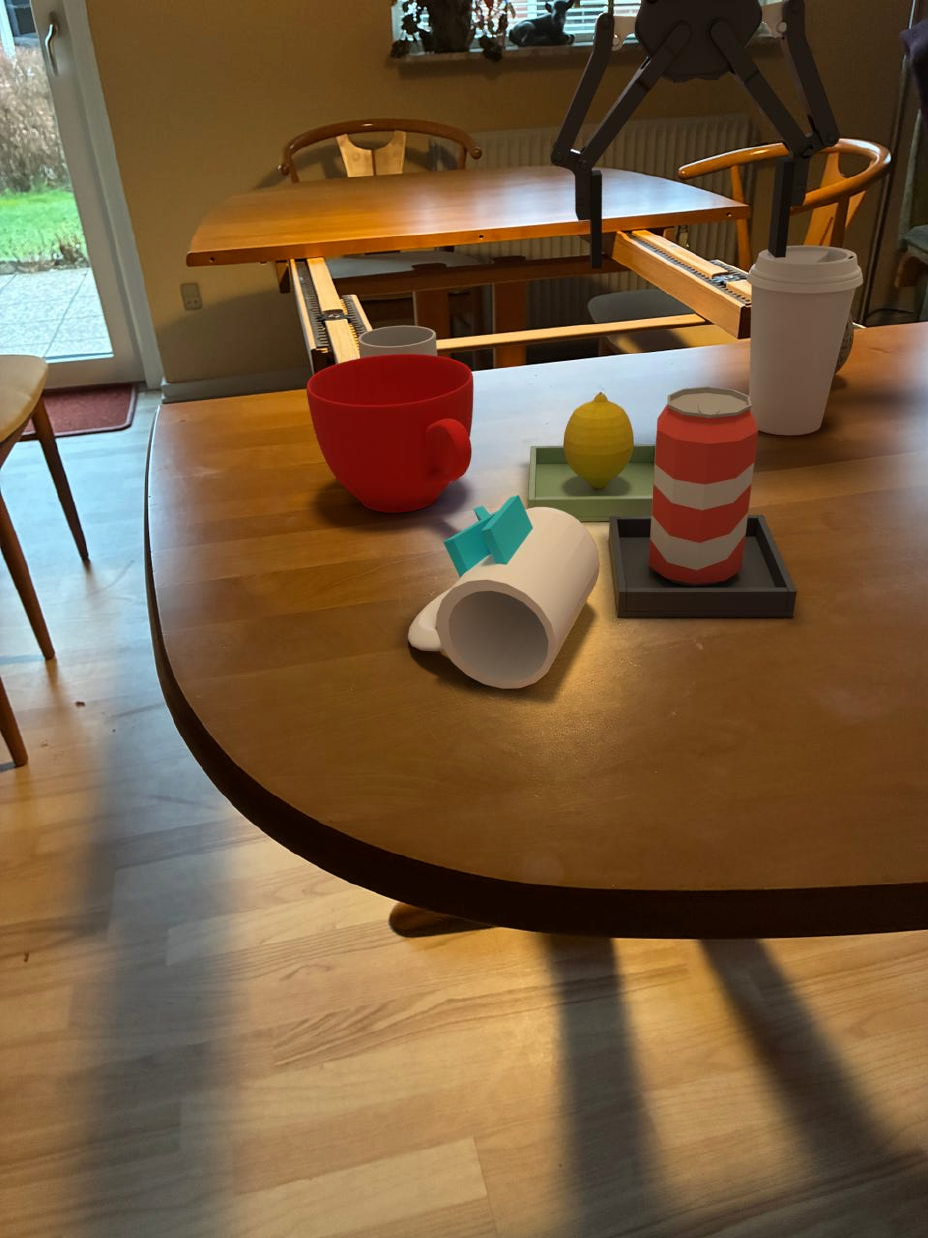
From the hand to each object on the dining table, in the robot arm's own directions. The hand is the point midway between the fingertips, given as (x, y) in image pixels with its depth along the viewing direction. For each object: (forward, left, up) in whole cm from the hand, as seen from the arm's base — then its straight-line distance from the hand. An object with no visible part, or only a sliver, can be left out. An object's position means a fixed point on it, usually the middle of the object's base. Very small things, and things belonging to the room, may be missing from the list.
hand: (685, 260), depth 73 cm
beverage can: (0, +19, -17) cm, 25 cm away
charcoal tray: (0, +19, -17) cm, 26 cm away
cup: (+24, -9, -17) cm, 31 cm away
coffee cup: (-12, -10, -17) cm, 23 cm away
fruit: (+6, +5, -17) cm, 19 cm away
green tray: (+6, +5, -17) cm, 19 cm away
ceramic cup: (+21, +7, -17) cm, 28 cm away
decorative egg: (-17, -22, -17) cm, 32 cm away
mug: (+13, +26, -17) cm, 34 cm away
